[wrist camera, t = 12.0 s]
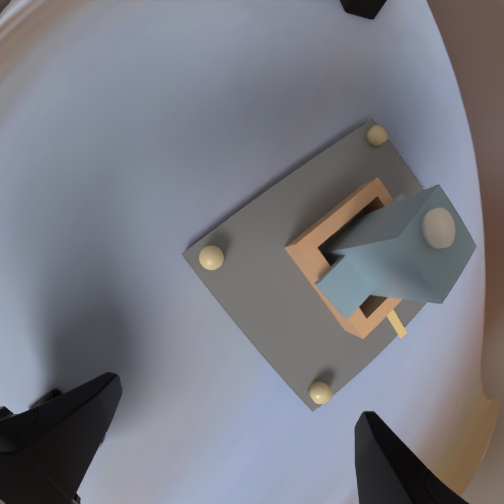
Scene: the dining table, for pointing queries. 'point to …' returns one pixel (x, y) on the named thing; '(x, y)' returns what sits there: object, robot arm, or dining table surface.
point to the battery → (363, 7)
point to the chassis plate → (308, 265)
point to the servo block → (398, 253)
